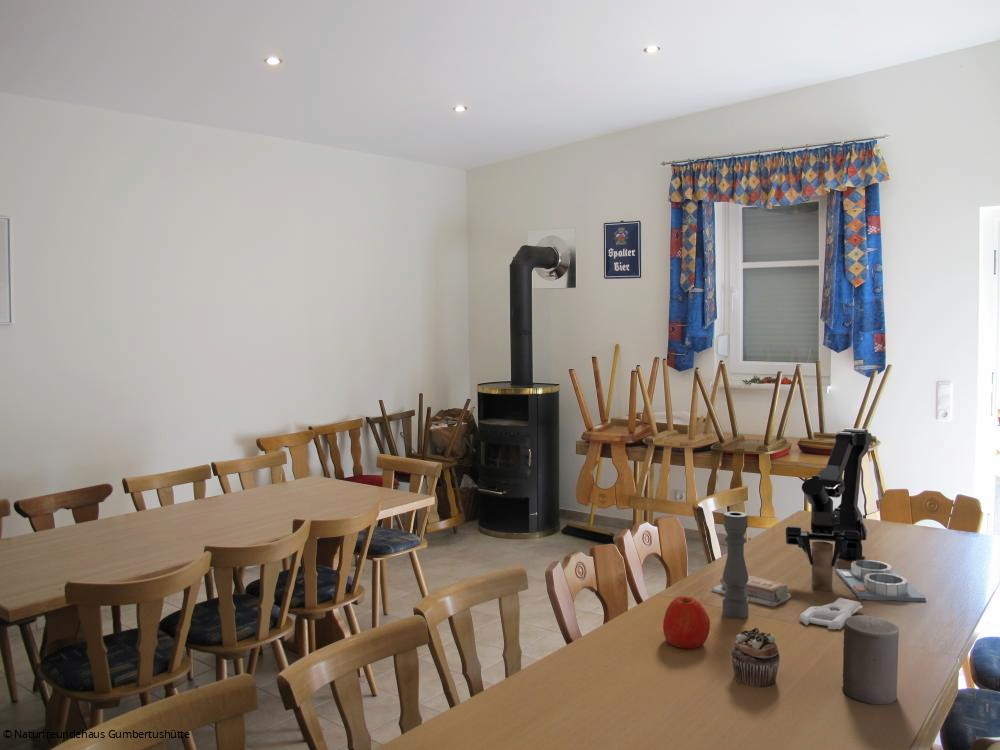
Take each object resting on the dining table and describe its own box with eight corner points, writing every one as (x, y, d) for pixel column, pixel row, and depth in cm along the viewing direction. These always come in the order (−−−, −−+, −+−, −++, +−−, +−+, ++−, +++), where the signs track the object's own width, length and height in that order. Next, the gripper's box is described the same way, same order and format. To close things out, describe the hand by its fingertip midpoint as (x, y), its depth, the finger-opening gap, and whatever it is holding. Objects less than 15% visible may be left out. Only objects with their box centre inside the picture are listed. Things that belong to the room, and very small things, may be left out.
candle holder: (726, 608, 203) (726, 510, 202) (751, 612, 200) (751, 512, 199) (719, 616, 198) (719, 515, 196) (744, 620, 195) (745, 518, 193)
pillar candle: (833, 693, 156) (835, 617, 155) (854, 677, 163) (856, 604, 162) (886, 710, 149) (888, 631, 148) (905, 693, 156) (907, 617, 155)
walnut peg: (807, 586, 219) (807, 542, 218) (821, 583, 221) (822, 540, 220) (822, 592, 214) (822, 547, 214) (836, 589, 216) (837, 545, 216)
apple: (714, 639, 184) (714, 594, 183) (701, 655, 175) (701, 608, 174) (671, 631, 189) (671, 587, 188) (656, 646, 180) (656, 600, 179)
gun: (824, 590, 206) (865, 599, 199) (824, 603, 206) (865, 612, 199) (795, 613, 192) (838, 624, 185) (795, 627, 193) (838, 638, 186)
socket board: (835, 572, 231) (835, 558, 231) (895, 574, 228) (895, 560, 228) (859, 599, 208) (859, 584, 208) (925, 601, 206) (925, 586, 206)
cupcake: (788, 678, 163) (789, 629, 162) (764, 693, 156) (765, 643, 156) (745, 664, 170) (746, 617, 169) (721, 678, 163) (721, 630, 163)
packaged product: (792, 581, 210) (773, 590, 203) (792, 599, 210) (773, 609, 204) (730, 567, 223) (710, 575, 216) (730, 584, 223) (710, 592, 217)
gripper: (786, 497, 223) (784, 546, 214) (859, 501, 217) (861, 553, 207) (786, 518, 231) (785, 567, 222) (858, 523, 224) (859, 574, 215)
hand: (822, 565), depth 216 cm, fingers closed on walnut peg, 5 cm apart
